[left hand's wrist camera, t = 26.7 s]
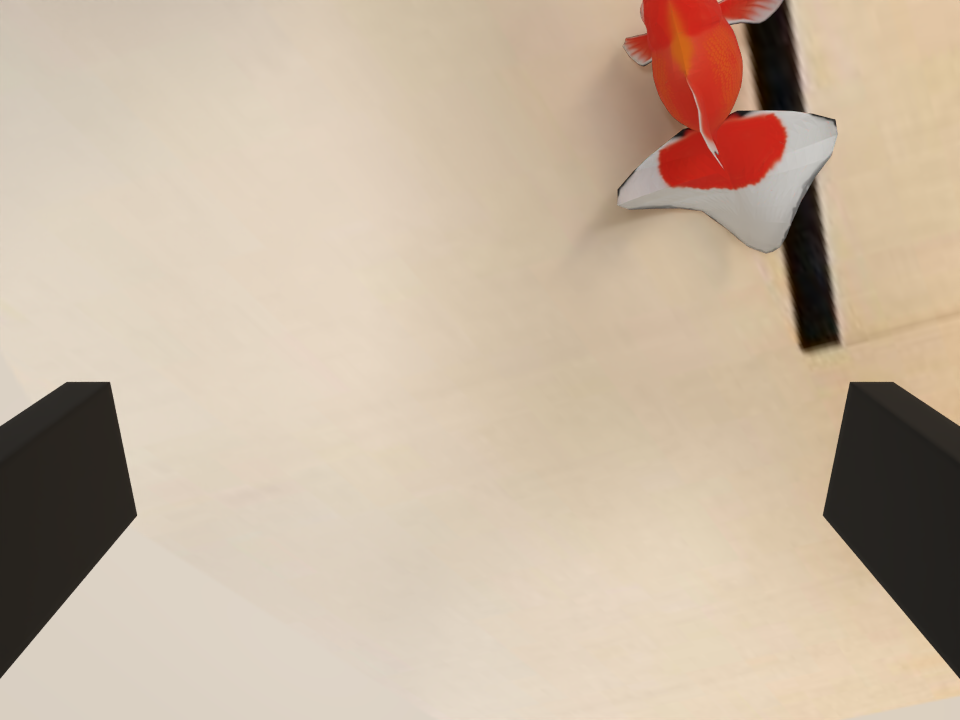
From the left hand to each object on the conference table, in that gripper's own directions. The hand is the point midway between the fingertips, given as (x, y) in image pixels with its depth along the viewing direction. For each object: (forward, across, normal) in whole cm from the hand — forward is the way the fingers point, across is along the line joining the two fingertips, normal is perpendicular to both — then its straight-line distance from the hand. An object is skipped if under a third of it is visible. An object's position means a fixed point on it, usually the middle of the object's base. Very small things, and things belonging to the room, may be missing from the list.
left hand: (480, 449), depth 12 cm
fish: (+30, +12, +5) cm, 33 cm away
